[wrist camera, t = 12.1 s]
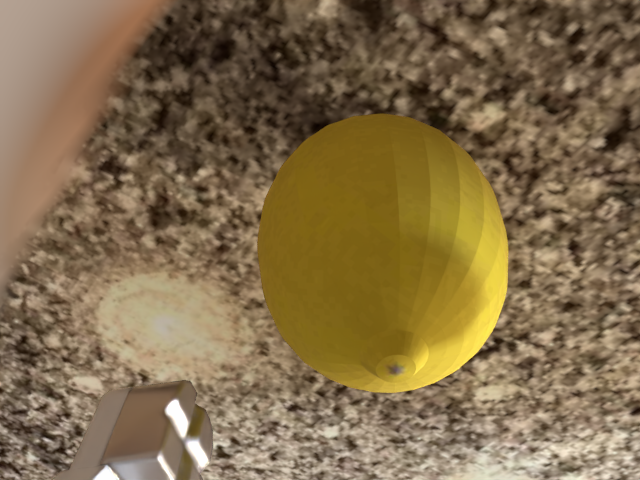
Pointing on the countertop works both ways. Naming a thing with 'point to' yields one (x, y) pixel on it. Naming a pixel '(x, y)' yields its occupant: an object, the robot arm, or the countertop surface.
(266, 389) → the countertop surface
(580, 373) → the countertop surface
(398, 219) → the lemon
